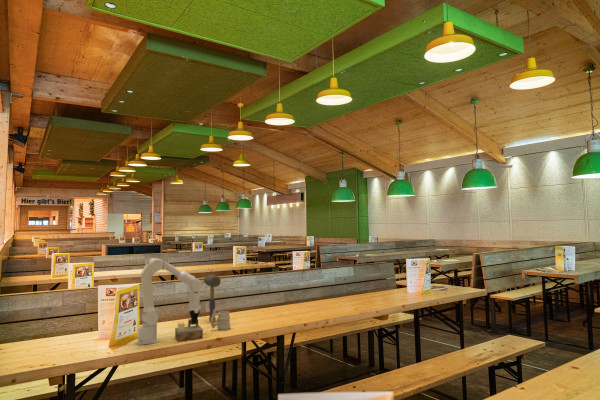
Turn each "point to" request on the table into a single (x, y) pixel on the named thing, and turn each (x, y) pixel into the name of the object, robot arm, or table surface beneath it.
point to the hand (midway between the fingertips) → (194, 323)
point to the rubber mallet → (212, 291)
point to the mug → (221, 320)
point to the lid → (187, 328)
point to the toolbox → (189, 334)
